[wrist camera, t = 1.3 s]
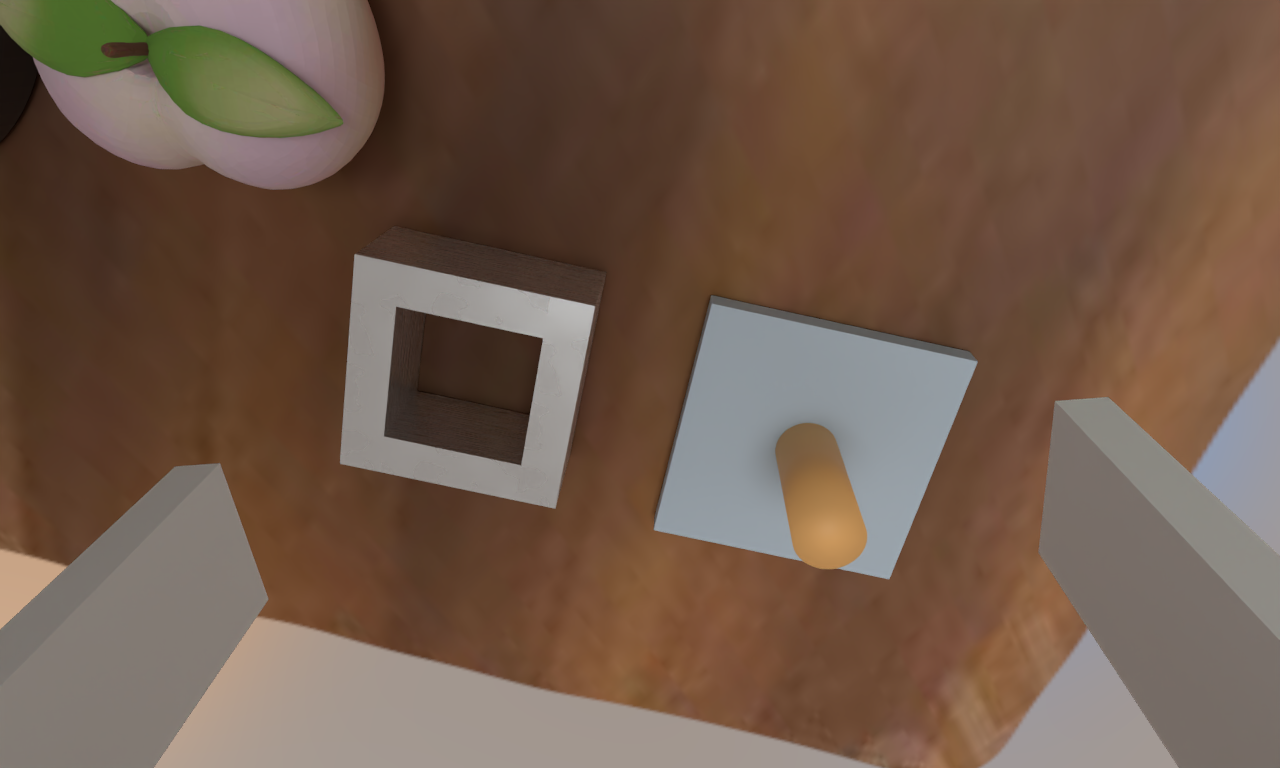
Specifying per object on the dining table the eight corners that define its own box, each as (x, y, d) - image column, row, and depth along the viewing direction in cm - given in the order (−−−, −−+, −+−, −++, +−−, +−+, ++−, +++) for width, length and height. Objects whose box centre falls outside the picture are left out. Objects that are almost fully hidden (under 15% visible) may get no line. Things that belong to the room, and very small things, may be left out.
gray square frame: (377, 415, 34) (339, 463, 31) (394, 225, 31) (354, 253, 27) (569, 456, 35) (555, 508, 31) (606, 271, 31) (595, 306, 28)
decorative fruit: (439, -81, 27) (310, -130, 18) (422, 175, 30) (305, 244, 21) (147, -137, 27) (-135, -215, 18) (162, 126, 30) (-69, 175, 21)
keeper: (654, 516, 35) (646, 627, 29) (711, 295, 31) (716, 366, 25) (884, 564, 36) (925, 684, 29) (969, 351, 32) (1039, 436, 25)
